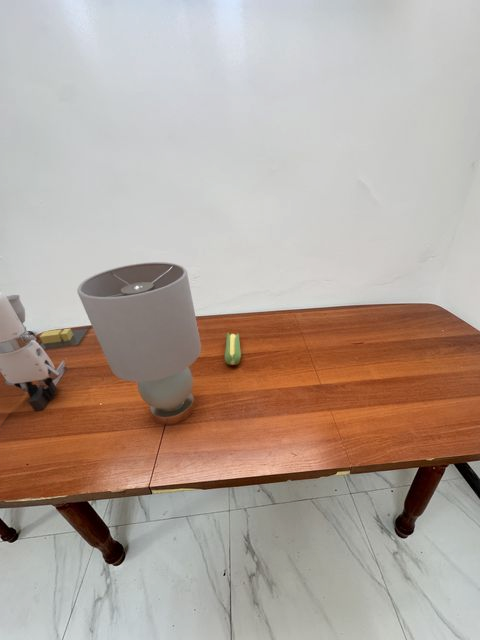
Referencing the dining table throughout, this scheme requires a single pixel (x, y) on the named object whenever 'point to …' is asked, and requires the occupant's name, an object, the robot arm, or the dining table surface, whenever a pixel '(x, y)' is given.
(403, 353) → the dining table surface
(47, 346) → the slate board
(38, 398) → the knife
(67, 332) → the butter slice
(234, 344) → the edible corn
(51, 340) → the butter block
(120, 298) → the lamp
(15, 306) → the chalice
